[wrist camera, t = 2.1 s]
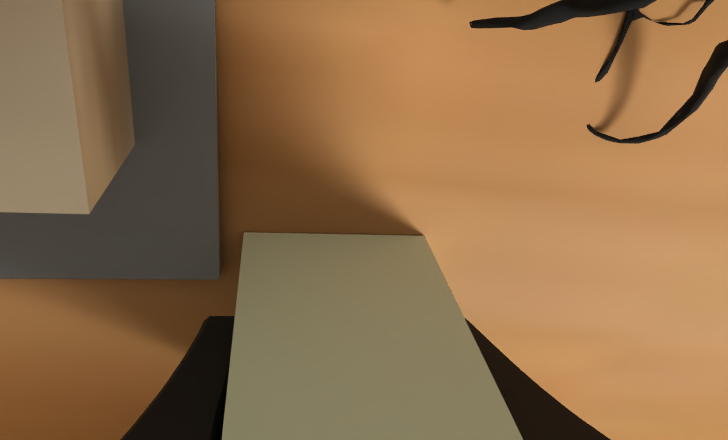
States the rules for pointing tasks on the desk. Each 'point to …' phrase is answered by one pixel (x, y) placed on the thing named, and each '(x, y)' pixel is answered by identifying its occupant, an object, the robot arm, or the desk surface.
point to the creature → (594, 3)
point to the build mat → (144, 167)
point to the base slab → (62, 103)
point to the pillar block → (354, 345)
